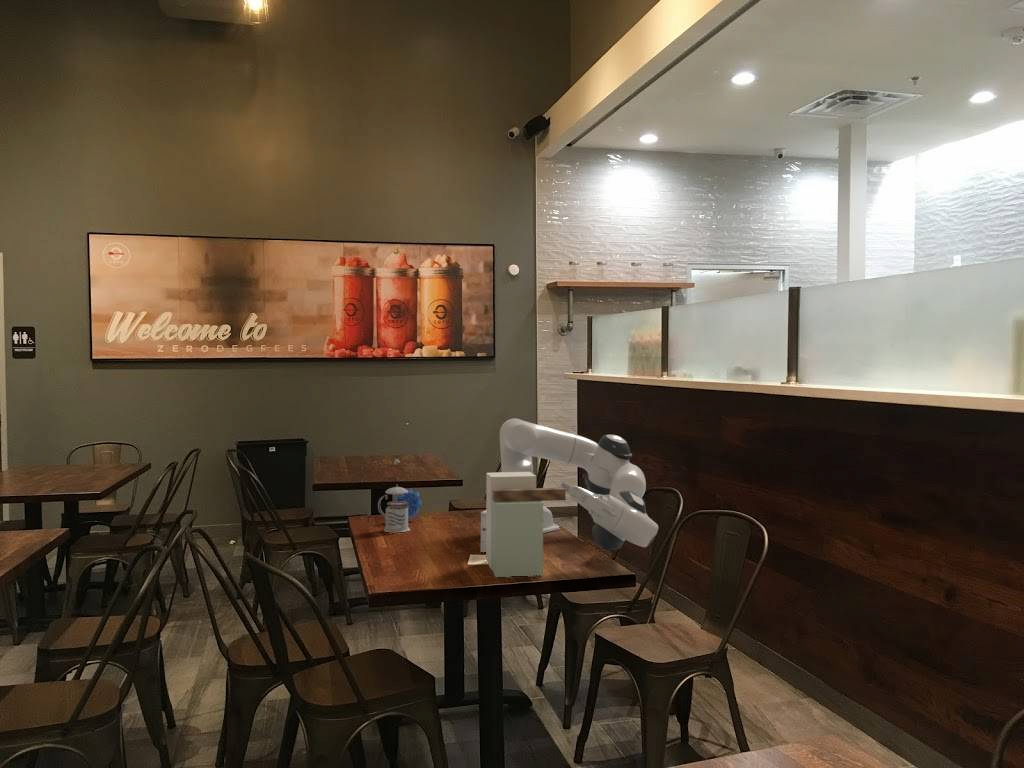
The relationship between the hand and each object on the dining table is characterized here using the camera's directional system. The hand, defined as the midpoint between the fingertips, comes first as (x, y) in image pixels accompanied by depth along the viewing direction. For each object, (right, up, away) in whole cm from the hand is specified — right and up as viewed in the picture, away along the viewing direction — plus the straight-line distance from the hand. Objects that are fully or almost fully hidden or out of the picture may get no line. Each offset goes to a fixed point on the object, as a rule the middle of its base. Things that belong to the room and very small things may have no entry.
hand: (565, 487), depth 215 cm
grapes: (-54, -22, +72) cm, 93 cm away
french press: (-56, -23, +55) cm, 82 cm away
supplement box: (-20, -23, +24) cm, 39 cm away
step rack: (-14, -23, +3) cm, 28 cm away
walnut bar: (-10, -3, -1) cm, 11 cm away
